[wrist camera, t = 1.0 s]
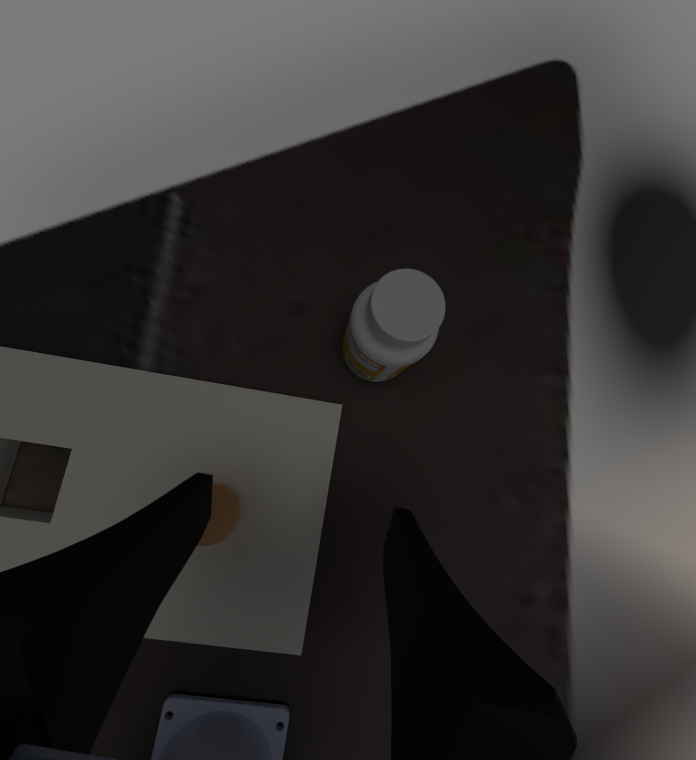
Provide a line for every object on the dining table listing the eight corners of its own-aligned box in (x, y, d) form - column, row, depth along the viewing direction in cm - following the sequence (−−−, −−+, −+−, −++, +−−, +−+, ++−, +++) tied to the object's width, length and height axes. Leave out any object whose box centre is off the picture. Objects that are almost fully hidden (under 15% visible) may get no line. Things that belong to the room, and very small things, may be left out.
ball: (238, 539, 22) (224, 559, 19) (183, 531, 22) (159, 550, 18) (249, 484, 23) (238, 493, 19) (196, 476, 22) (174, 484, 19)
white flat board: (340, 407, 26) (342, 404, 24) (302, 636, 23) (301, 655, 21) (-22, 345, 24) (-52, 337, 22) (-109, 588, 21) (-152, 604, 19)
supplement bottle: (407, 318, 28) (457, 257, 18) (408, 383, 27) (462, 356, 17) (341, 315, 27) (357, 251, 18) (340, 382, 26) (357, 353, 17)
